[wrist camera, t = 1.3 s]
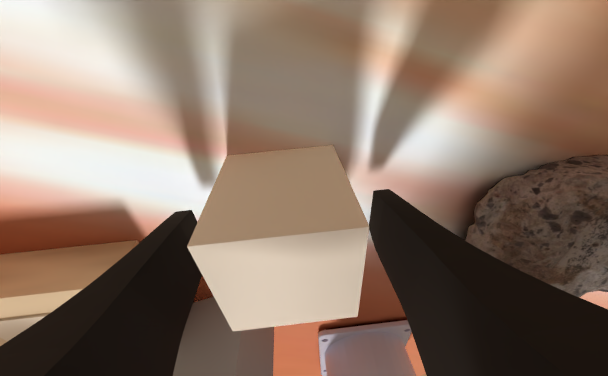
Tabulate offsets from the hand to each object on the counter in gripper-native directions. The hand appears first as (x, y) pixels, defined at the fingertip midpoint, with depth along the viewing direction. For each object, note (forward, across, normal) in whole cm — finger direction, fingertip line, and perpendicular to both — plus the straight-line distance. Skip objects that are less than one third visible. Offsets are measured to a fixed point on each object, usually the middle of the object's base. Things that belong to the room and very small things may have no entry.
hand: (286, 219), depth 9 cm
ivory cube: (+2, 0, 0) cm, 2 cm away
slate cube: (+2, +5, +10) cm, 11 cm away
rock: (+2, -14, +4) cm, 15 cm away
